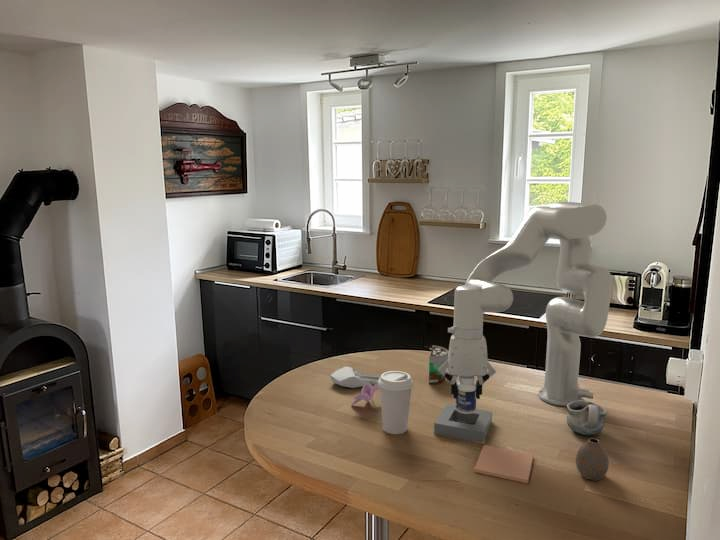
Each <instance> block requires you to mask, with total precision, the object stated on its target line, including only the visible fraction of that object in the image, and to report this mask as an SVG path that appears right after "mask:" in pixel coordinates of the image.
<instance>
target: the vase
mask: <svg viewBox="0 0 720 540" xmlns="http://www.w3.org/2000/svg"><path fill="white" fill-rule="evenodd" d="M575 455H576V456H575V465H576V468H577V469H576V470H577V471H578V473H579V474H580V475H581V476H582V477H583V478H584V479H586V480H589V481H599V480H601V479H603V478H605V476H606V475H607V473H608V471H609V466H610V465H609V464H610V463H609V455H608V453H607V451H606V449H604V447H603V445H602V443H601V441H600V440H599V439H598V438H596V437H595V438H594V437H589V438H588V439H587V441H586V442H585V443H583V444H582V445H581V446H580V447H579V448H578V450H577V452H576V454H575Z"/></svg>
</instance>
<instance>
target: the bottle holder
mask: <svg viewBox="0 0 720 540" xmlns="http://www.w3.org/2000/svg"><path fill="white" fill-rule="evenodd" d="M492 422H493V411H491V410H490V411H489V410H483V409H477V408H476V411H475V412H474V413H471V414H463V413H460V412H458V411H457V410H456V404H454V405H453V404H449V403H446V404H445V406H444V408H442V410H441V412H440V413H439V415H438V417H437V418H436V420H435V422H434V423H433V425H434V428H433V429H434V431H433V432H434V433H433V434H434V435H440V436H446V437H450V438H455V439H461V440H465V441H470V442H475V443H481V444H484V443H485V440H486V439H487V435H488V433H489V430H490V428H491V425H492Z"/></svg>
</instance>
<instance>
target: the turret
mask: <svg viewBox="0 0 720 540" xmlns="http://www.w3.org/2000/svg"><path fill="white" fill-rule="evenodd" d="M381 375H382V374H371V373H364V372H359V371H358V370H356V369H355V368H352V367H351V366H344V367H342V368H339V369H336V370H335V371H333V372H332V373H331V374H330V375H329V376H330V379H331V382H332V383H334V384H336V385H338V386H340V387H345V388H351V389H354V388H355V389H356V388H361V387H363V386H364V385H365V384H366V383H370V384H371V385H372V386H374V385H375V384H377V383H378V380H379V378H380V377H381Z"/></svg>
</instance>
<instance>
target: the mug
mask: <svg viewBox="0 0 720 540" xmlns="http://www.w3.org/2000/svg"><path fill="white" fill-rule="evenodd" d="M566 407H567V408H566V409H567V411H568V412H567V416H566V423H567V427H569V429H571V430H572V431H573V432H575V433H577V434H579V435H583V436H593V435H597V434H599V433H601V431H602V430H603V429H604V427H605V421H606V420H605V417H606V415H607V410H606V409H605V407H603V406H602V405H600V404H598V403H595V402H592V401H589V400H583V399H582V400H578V401H573V402H571V403H569V404H567V406H566Z"/></svg>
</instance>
